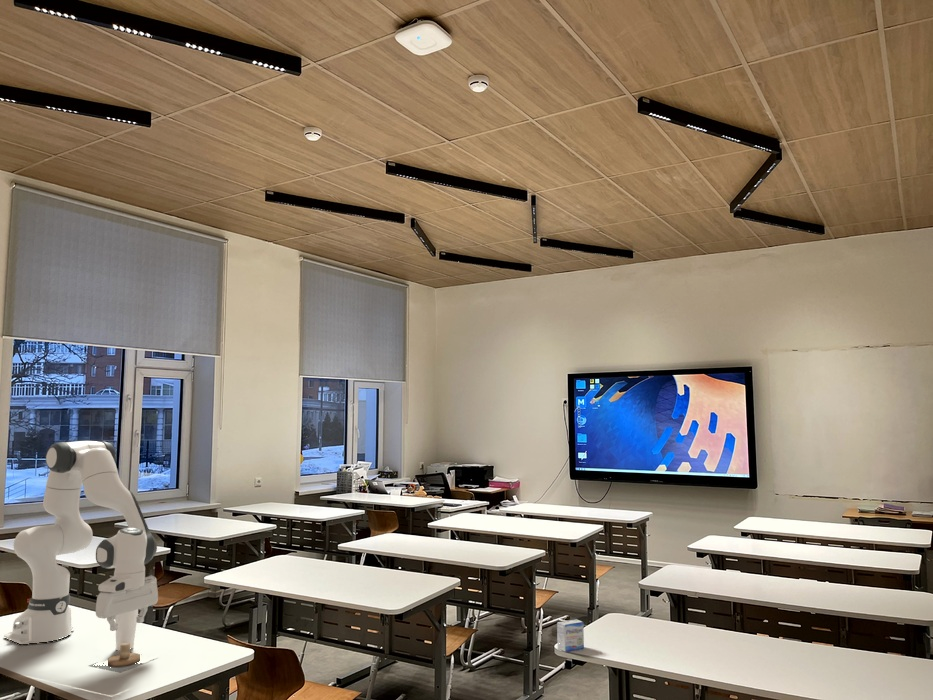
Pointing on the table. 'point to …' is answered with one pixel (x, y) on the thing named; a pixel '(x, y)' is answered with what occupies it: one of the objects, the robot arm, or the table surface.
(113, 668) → the mat
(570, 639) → the medicine box
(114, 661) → the lid
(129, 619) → the drinking glass
